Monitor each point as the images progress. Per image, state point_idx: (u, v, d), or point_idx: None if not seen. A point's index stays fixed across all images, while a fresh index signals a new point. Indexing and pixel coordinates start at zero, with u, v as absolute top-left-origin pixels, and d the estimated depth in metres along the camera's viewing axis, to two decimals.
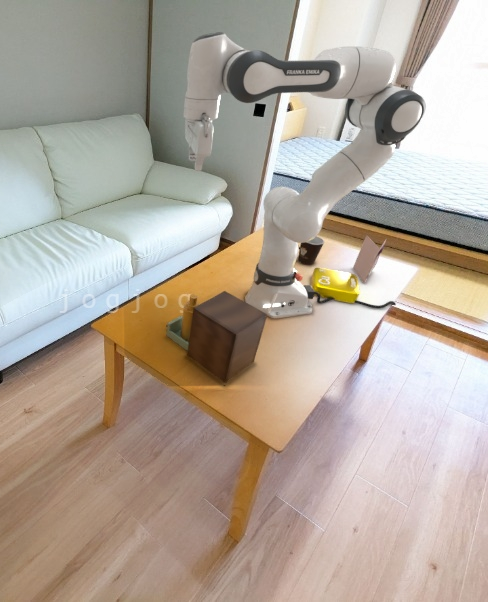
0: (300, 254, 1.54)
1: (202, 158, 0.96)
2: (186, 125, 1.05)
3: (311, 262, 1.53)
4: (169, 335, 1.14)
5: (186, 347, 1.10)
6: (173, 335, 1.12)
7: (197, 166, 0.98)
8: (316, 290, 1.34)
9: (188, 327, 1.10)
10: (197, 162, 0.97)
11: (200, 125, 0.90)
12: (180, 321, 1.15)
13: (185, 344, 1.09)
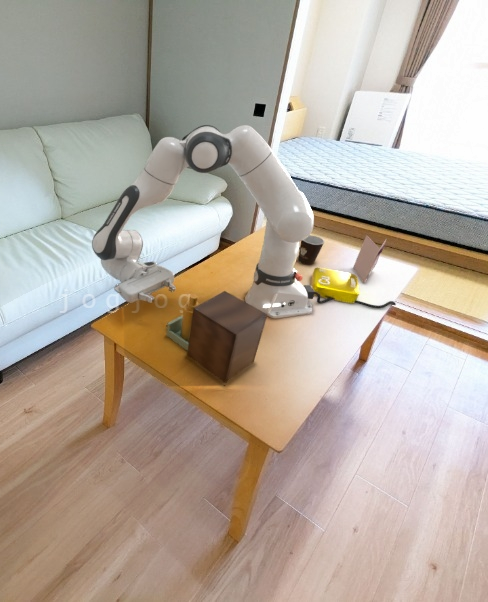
0: (300, 254, 1.54)
1: (140, 296, 1.16)
2: None
3: (311, 262, 1.53)
4: (169, 335, 1.14)
5: (186, 347, 1.10)
6: (173, 335, 1.12)
7: (148, 300, 1.16)
8: (316, 290, 1.34)
9: (188, 327, 1.10)
10: (144, 299, 1.16)
11: None
12: (180, 321, 1.15)
13: (185, 344, 1.09)
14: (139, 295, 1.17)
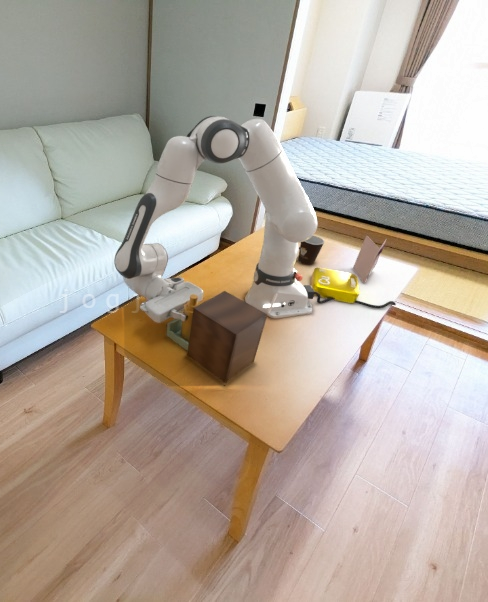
0: (300, 254, 1.54)
1: (173, 314, 1.09)
2: None
3: (311, 262, 1.53)
4: (169, 335, 1.14)
5: (186, 347, 1.10)
6: (173, 335, 1.12)
7: (181, 318, 1.08)
8: (316, 290, 1.34)
9: (188, 327, 1.10)
10: (177, 317, 1.09)
11: None
12: (180, 321, 1.15)
13: (185, 344, 1.09)
14: (171, 313, 1.09)
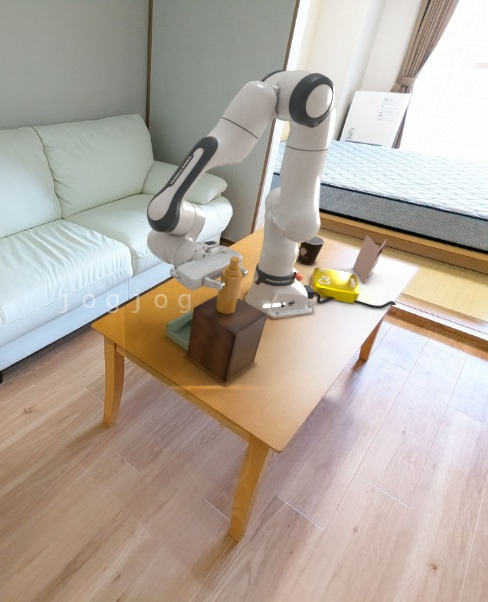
0: (300, 254, 1.54)
1: (206, 281, 0.91)
2: None
3: (311, 262, 1.53)
4: (169, 335, 1.14)
5: (186, 347, 1.10)
6: (173, 335, 1.12)
7: (216, 287, 0.91)
8: (316, 290, 1.34)
9: (226, 296, 0.93)
10: (211, 286, 0.91)
11: None
12: (180, 321, 1.15)
13: (185, 344, 1.09)
14: (204, 281, 0.92)
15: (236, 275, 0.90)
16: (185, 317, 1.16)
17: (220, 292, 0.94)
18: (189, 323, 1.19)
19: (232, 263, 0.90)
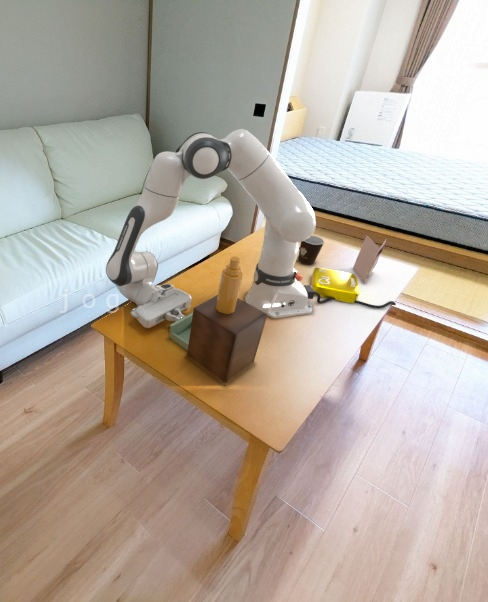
0: (300, 254, 1.54)
1: (168, 316, 1.16)
2: None
3: (311, 262, 1.53)
4: (171, 337, 1.13)
5: None
6: (176, 337, 1.12)
7: (175, 320, 1.15)
8: (316, 290, 1.34)
9: (226, 296, 0.93)
10: (172, 320, 1.16)
11: None
12: (183, 323, 1.14)
13: None
14: (166, 315, 1.16)
15: (236, 275, 0.90)
16: (188, 319, 1.15)
17: (220, 292, 0.94)
18: None
19: (232, 263, 0.90)
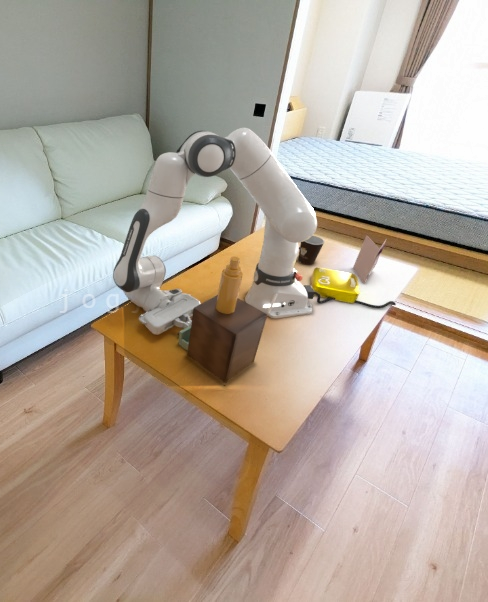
0: (300, 254, 1.54)
1: (177, 322, 1.13)
2: None
3: (311, 262, 1.53)
4: (181, 344, 1.11)
5: None
6: (185, 344, 1.09)
7: (184, 327, 1.13)
8: (316, 290, 1.34)
9: (226, 296, 0.93)
10: (181, 326, 1.13)
11: None
12: None
13: None
14: (175, 322, 1.14)
15: (236, 275, 0.90)
16: None
17: (220, 292, 0.94)
18: None
19: (232, 263, 0.90)
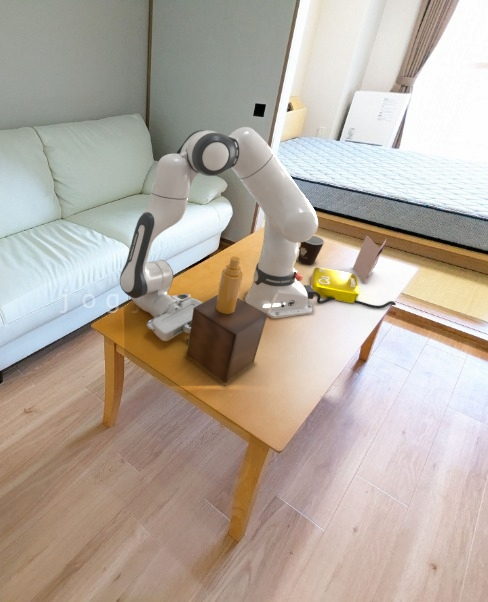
0: (300, 254, 1.54)
1: (186, 328, 1.11)
2: None
3: (311, 262, 1.53)
4: None
5: None
6: None
7: None
8: (316, 290, 1.34)
9: (226, 296, 0.93)
10: None
11: None
12: None
13: None
14: (184, 328, 1.11)
15: (236, 275, 0.90)
16: None
17: (220, 292, 0.94)
18: None
19: (232, 263, 0.90)
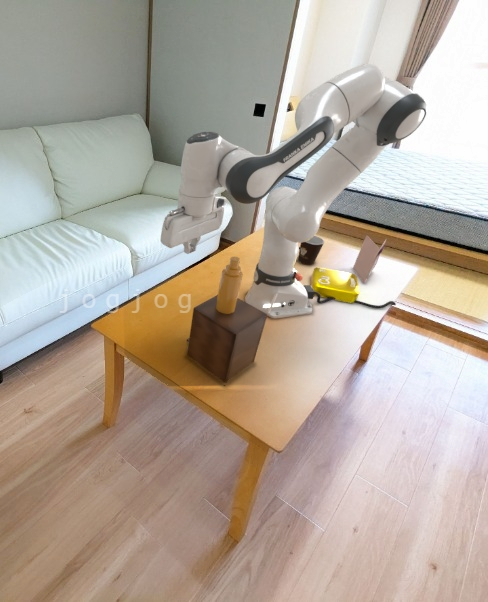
0: (300, 254, 1.54)
1: (185, 243, 0.98)
2: None
3: (311, 262, 1.53)
4: None
5: None
6: None
7: (185, 248, 1.00)
8: (316, 290, 1.34)
9: (226, 296, 0.93)
10: (184, 245, 0.99)
11: None
12: None
13: None
14: None
15: (236, 275, 0.90)
16: None
17: (220, 292, 0.94)
18: None
19: (232, 263, 0.90)
